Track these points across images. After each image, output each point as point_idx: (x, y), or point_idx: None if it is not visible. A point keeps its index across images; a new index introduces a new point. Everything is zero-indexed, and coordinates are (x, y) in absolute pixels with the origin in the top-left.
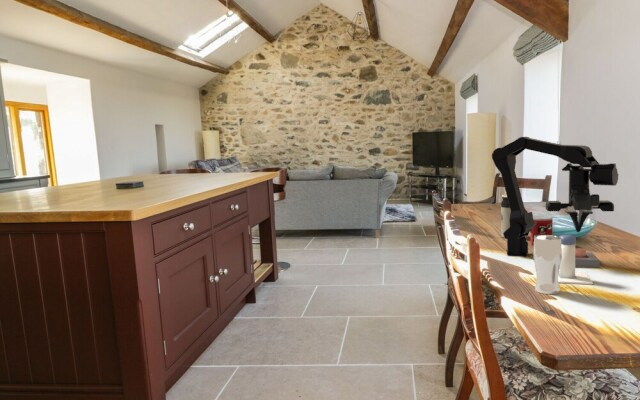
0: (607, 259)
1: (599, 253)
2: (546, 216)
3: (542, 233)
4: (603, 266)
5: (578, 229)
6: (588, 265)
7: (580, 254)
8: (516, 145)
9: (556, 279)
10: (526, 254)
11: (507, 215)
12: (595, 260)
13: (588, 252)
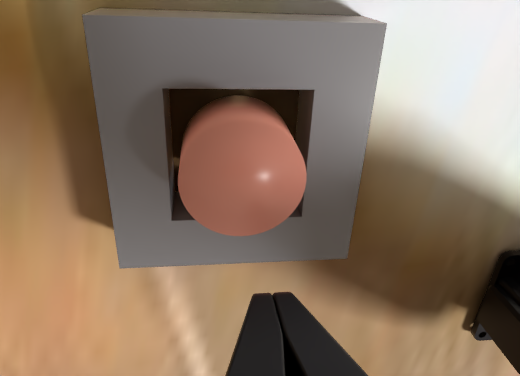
0: (27, 254)
1: (70, 371)
2: None
3: None
4: (63, 56)
5: (280, 315)
6: (181, 11)
7: (233, 110)
8: None
9: None
10: (505, 262)
11: None
12: (118, 16)
13: (145, 261)
